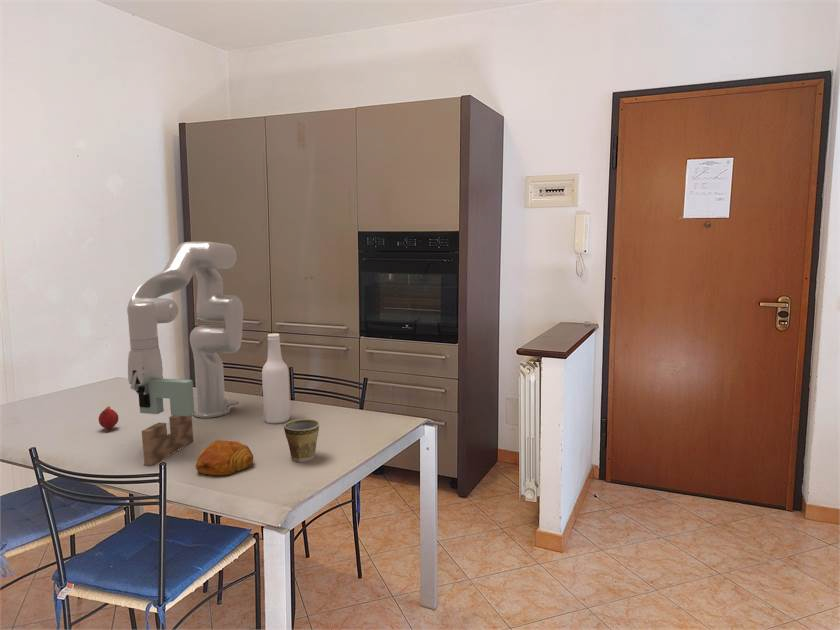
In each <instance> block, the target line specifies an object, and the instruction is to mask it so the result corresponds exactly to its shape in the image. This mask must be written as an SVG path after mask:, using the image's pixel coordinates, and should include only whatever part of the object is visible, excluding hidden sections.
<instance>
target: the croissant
mask: <svg viewBox="0 0 840 630" xmlns="http://www.w3.org/2000/svg"><path fill="white" fill-rule="evenodd" d="M253 461H254V455H253V453H252V450H251V449H250V448H249V446H248V445H246V444H243V443H242V442H241V443H240V442H238V441H235V440H223V439H222V440H220V439H219V440H215V441H212V442H211V443H210V444H208V446H207V447H204V448H202V450H201V452H199V455H198V457H197V460H196V464H195V468H196V469H195V470H196V471H197V472H198V471H199V472H198V473H200V474H202V473H203V475H206V474H209V475H208V476H212V475H220V476H229V475H228V474H231V475H233V474H232V473H235V472H236V473H237V472H239V471H238V470H241V471H243V470H245V469H246V468H248V467H251V465H252V464H253ZM242 469H243V470H242ZM236 473H235V474H236Z"/></svg>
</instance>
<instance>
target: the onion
mask: <svg viewBox="0 0 840 630" xmlns="http://www.w3.org/2000/svg"><path fill="white" fill-rule="evenodd" d="M118 422H119V415H118V412H116V410H114V409H112V408H111V406H110V405H107V406H106V407H105V409H103V410H102V411H101V412H100V414H99V416H98V423H99V425H100V427H102V428H104V429H106V430H108V431H110V429H111V430H112V429H113V427H116V425H117V424H118Z"/></svg>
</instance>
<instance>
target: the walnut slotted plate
mask: <svg viewBox="0 0 840 630" xmlns="http://www.w3.org/2000/svg"><path fill="white" fill-rule="evenodd" d="M168 421H169V432H170V433H168V429H167V428H168V427H167V423H166V422H157V423H155V424H153V425H150V426H149V427H147V428H145V429H143V430H141V439H142V441H141V442H142V452H143V464H144V466H148V467H149V466H151V467H152V466H154V465H156V464H158V463H160V462H161V461H163V460H164V459H166V458H168V457H169V456H168V455H170V454H171V455H173V454H174V453H173V452H175V451H176V452H178V451H179V450H178V449H180V448H181V449H183V448H184V446H185V445H186V446H188V445H189V443H190V444H192V443H193V442H194V431H193V429H194V428H193V414H192V415H190V416H174V415H170V416H169V420H168ZM192 441H193V442H192ZM187 444H188V445H187ZM186 446H185V447H186ZM182 447H183V448H182ZM181 449H180V450H181ZM177 450H178V451H177ZM176 452H175V453H176ZM172 453H173V454H172ZM171 455H170V456H171ZM167 456H168V457H167ZM165 457H166V458H165ZM163 458H164V459H163ZM162 459H163V460H162ZM157 462H158V463H157Z"/></svg>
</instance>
